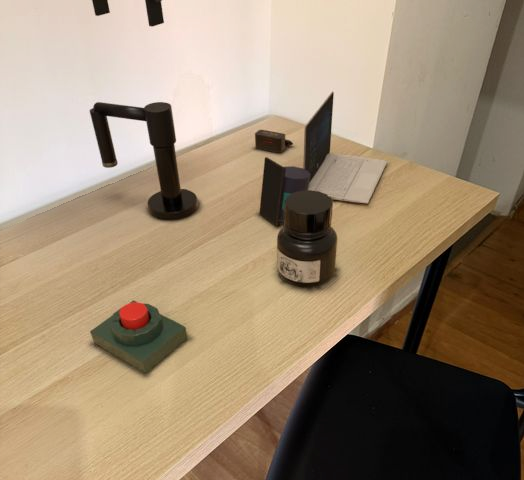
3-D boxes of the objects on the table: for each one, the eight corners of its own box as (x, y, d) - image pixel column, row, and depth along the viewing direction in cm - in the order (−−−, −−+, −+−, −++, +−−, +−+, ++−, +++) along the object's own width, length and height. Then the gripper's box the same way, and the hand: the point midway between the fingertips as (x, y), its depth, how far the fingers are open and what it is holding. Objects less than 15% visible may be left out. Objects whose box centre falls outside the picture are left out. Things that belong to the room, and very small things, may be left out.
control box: (93, 343, 72) (86, 321, 70) (136, 311, 77) (130, 289, 74) (145, 373, 68) (140, 351, 65) (187, 338, 73) (183, 316, 70)
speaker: (267, 229, 91) (271, 170, 85) (259, 214, 95) (262, 157, 89) (309, 226, 93) (316, 168, 86) (298, 211, 97) (305, 155, 91)
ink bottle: (264, 270, 83) (261, 200, 75) (303, 247, 87) (305, 179, 79) (309, 298, 78) (312, 226, 70) (348, 272, 82) (355, 202, 74)
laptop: (367, 206, 96) (376, 135, 87) (301, 196, 100) (303, 126, 91) (387, 164, 108) (396, 97, 99) (327, 155, 112) (331, 90, 103)
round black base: (138, 211, 97) (125, 147, 89) (172, 191, 102) (162, 128, 94) (174, 225, 93) (164, 160, 85) (207, 204, 99) (200, 140, 90)
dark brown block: (284, 154, 113) (284, 139, 110) (254, 149, 115) (253, 134, 113) (293, 146, 116) (293, 131, 113) (264, 140, 118) (263, 126, 116)
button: (116, 323, 70) (113, 313, 68) (136, 308, 72) (133, 298, 70) (135, 333, 68) (132, 323, 67) (155, 318, 70) (152, 308, 69)
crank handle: (185, 170, 94) (176, 103, 86) (173, 181, 91) (162, 113, 83) (110, 158, 99) (95, 93, 91) (97, 168, 96) (80, 102, 88)
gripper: (179, -154, 72) (197, 24, 87) (65, -152, 84) (98, 5, 98) (139, -152, 68) (164, 34, 83) (24, -150, 79) (65, 14, 94)
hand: (128, 19), depth 91 cm, fingers open, 13 cm apart
